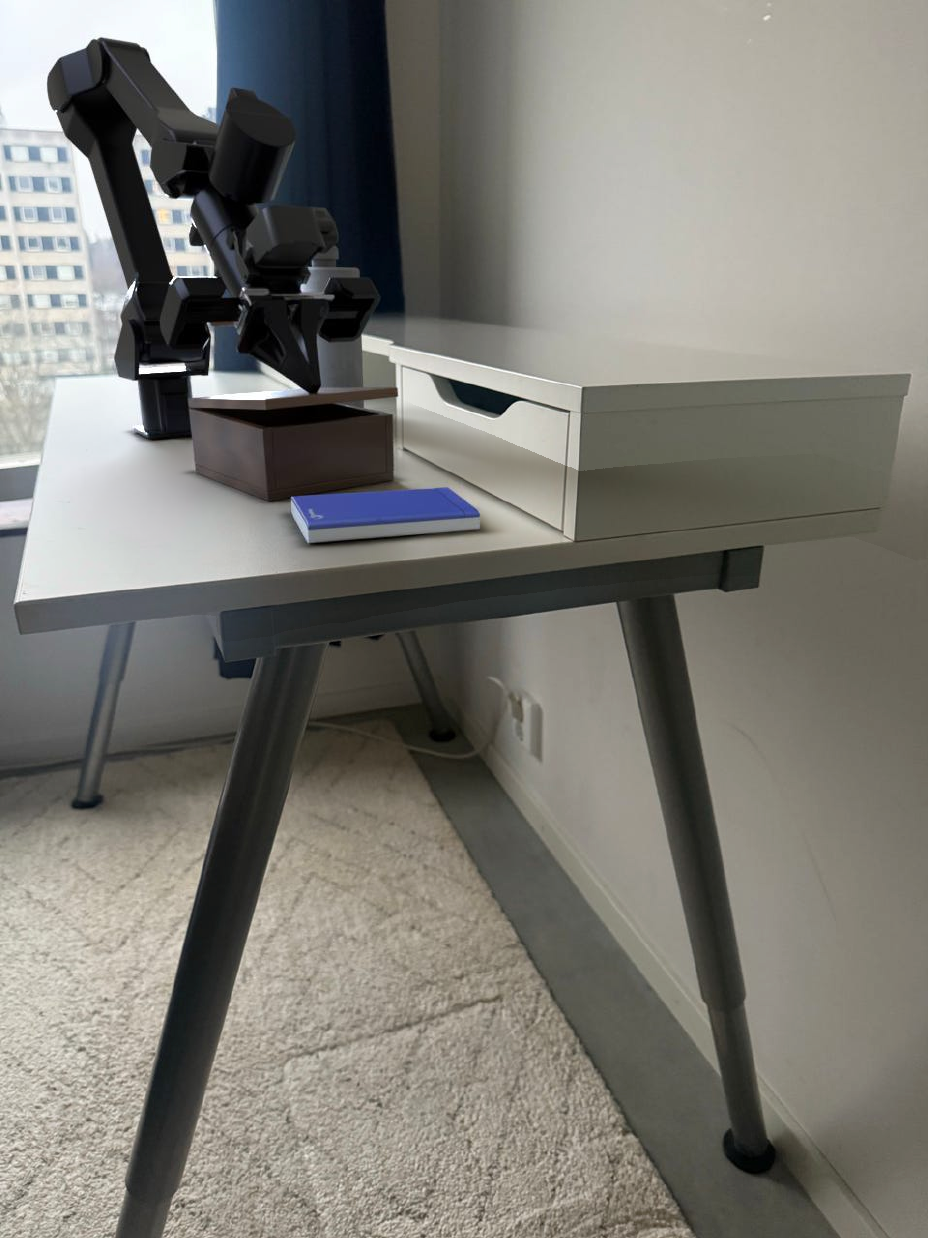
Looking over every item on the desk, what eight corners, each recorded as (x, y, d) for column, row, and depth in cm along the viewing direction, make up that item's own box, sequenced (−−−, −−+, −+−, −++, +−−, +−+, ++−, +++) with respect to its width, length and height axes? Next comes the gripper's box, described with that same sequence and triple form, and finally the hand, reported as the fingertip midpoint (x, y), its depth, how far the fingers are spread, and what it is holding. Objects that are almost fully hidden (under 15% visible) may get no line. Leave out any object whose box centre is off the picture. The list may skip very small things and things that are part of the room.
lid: (398, 396, 74) (397, 387, 73) (266, 409, 66) (265, 399, 66) (311, 396, 84) (310, 387, 84) (188, 407, 77) (187, 398, 76)
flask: (300, 408, 115) (291, 245, 107) (344, 406, 117) (337, 246, 109) (320, 427, 102) (310, 242, 94) (368, 424, 103) (362, 243, 96)
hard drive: (307, 523, 58) (480, 510, 62) (290, 494, 65) (446, 484, 69) (308, 545, 59) (479, 531, 62) (291, 514, 66) (446, 503, 69)
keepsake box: (394, 479, 77) (393, 414, 75) (268, 501, 69) (262, 429, 67) (314, 455, 87) (311, 396, 84) (195, 472, 79) (188, 407, 77)
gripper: (155, 158, 63) (238, 324, 60) (365, 177, 75) (445, 317, 71) (130, 272, 72) (201, 423, 68) (321, 274, 83) (391, 403, 80)
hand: (315, 389), depth 72 cm, fingers closed, pressing on lid
